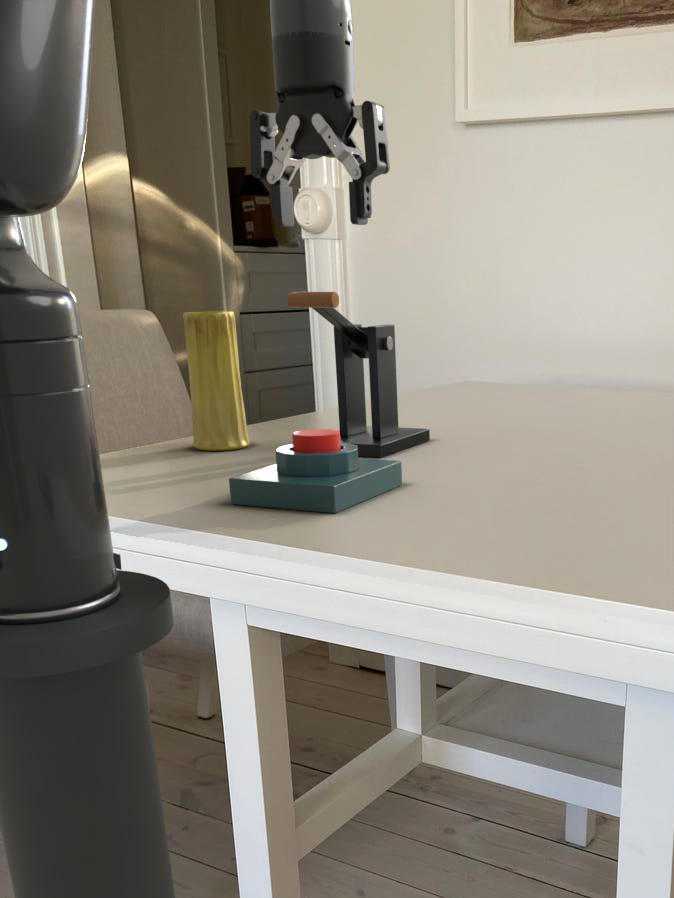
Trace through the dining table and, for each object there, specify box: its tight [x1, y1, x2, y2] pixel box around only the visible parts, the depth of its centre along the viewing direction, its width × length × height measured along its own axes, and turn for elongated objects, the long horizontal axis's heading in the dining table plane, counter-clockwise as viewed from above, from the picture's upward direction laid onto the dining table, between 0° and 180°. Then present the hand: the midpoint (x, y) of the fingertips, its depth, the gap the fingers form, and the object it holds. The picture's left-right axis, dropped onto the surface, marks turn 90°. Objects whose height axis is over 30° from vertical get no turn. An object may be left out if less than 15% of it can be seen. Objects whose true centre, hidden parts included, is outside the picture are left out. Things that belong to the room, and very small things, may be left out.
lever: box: [286, 291, 369, 360], centre depth 101 cm, size 13×5×2 cm, turn 158°
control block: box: [228, 442, 403, 514], centre depth 86 cm, size 12×10×4 cm
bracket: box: [333, 323, 431, 459], centre depth 108 cm, size 12×9×13 cm
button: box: [291, 428, 341, 453], centre depth 85 cm, size 4×4×2 cm
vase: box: [182, 310, 251, 452], centre depth 108 cm, size 6×6×14 cm
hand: (322, 225), depth 98 cm, fingers open, 8 cm apart
